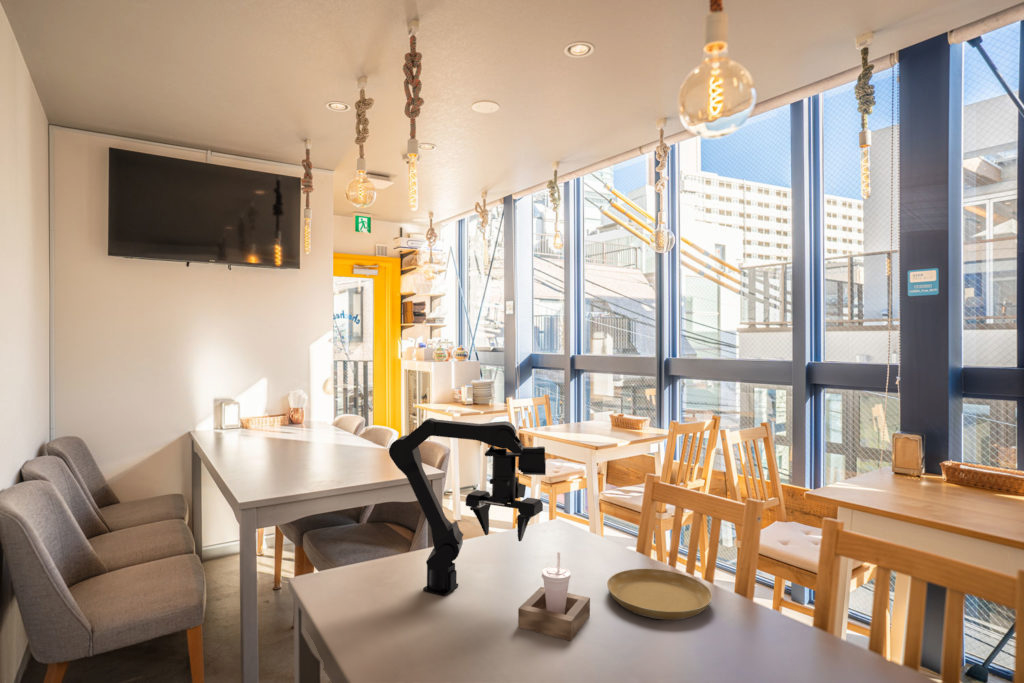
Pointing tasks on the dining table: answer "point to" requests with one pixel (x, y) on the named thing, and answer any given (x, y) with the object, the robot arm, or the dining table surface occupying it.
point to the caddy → (554, 615)
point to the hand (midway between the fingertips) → (503, 537)
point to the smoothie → (556, 587)
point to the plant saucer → (659, 593)
